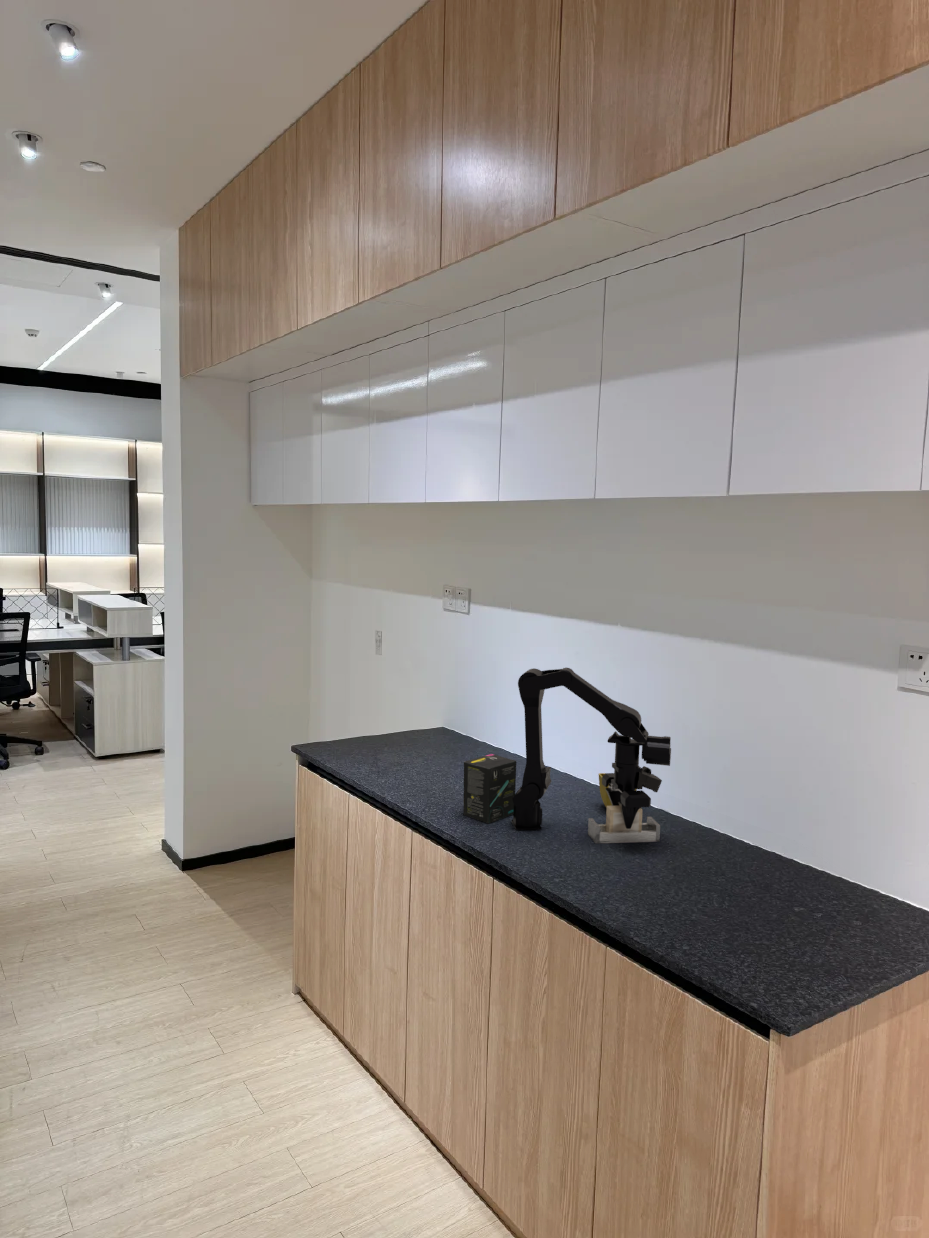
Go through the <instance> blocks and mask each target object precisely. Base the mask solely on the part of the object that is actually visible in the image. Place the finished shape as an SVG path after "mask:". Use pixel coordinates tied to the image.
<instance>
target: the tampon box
mask: <svg viewBox="0 0 929 1238" xmlns="http://www.w3.org/2000/svg"><path fill="white" fill-rule="evenodd" d="M516 779H517V760H516V759H510V758H508V757H504V756H501V755H497V754H493V753H489V754H487V755H482V756H479V757H476V758H472V759H468V760H464V761H463V813H462V814H463V816H466V817H468V818H471V819H474V820H476V821H477V820H478V821H480V822H482V823H485V824H487V825H489V824H492V823H494V822H497V821H499V820H503V819H505V818H508V817H510V816H513V809H514V803H513V799H512V798H513V797H514V795H515V794H516Z"/></svg>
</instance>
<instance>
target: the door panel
mask: <svg viewBox="0 0 929 1238" xmlns="http://www.w3.org/2000/svg"><path fill="white" fill-rule="evenodd" d="M642 823H643V807H641V808H640V809H639V810H638V811H637V813H636V816H635V819H634V821H633V824H632V827H631V829H626V827H625V823H624V820H623V816H622V813H621V809H620V806H607V808H606V814H605V824H606V832H622V831H641V830H642Z"/></svg>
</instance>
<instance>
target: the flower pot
mask: <svg viewBox="0 0 929 1238" xmlns="http://www.w3.org/2000/svg"><path fill="white" fill-rule="evenodd" d="M606 773H607V772H606ZM606 773H605V772H604V773H602V772H600V773H598V784H599V794H600V797H601V800H602V802H603V804H604V806H605V808H606V809H607V806H612V804H611V801H610V799H609V796H608V794H607V791H606V790H605V788H609V784H608V786H607V787H605V786H604V785H603V784H602V777H603V776H604V775H605V774H606ZM635 791H638V789H635Z"/></svg>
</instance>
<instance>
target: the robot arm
mask: <svg viewBox="0 0 929 1238" xmlns="http://www.w3.org/2000/svg"><path fill="white" fill-rule="evenodd" d="M517 687H518V691H519V696H520V699H521V703H522V705H523V708H524V732H525V733H524V736H525V738H524V739H525V762H526V763H525V766H524V767H525V768H524V772H523V776H522V781H521V782H522V783H521V787H519V789H518V790H516V791H517V792H515V795H514V797H513V798H512V799H513V803H514V809H513V815H512V816H513V818H512V819H511V823H512V826H513V827H514V829H515V830H516V831H531V830H533V831H534V830H536V831H537V830H542V824H543V808H542V807H541V804H542V803H541V802H540V801H539V800H541V799H542V798H543V796H544V795H545V793H547V790H548V789H549V787H550V785H551V783H552V782H553V780H552V779H551V770H552V769H551V768H552V767H551V766H547V767H546V765H545V762H544V757H543V756H544V755H543V753H544V751H543V750H544V749H543V725H542V723H543V721H542V704H543V699H544V693H545V690H549V689H553V688H557V687H558V688H559V687H564V688H566V689H567V690H569V692H572V693H573V694H574V695H576V696H577V697H578V698H580V699H581V700H583V701H584V702H585V703H587V704H588V705H589V706H590V707H592V708H593V709H595V710H596V711H598V712H599V713H600V714H602V715H603V717H604V718H605V719H606V720H607V722H608V723H609V724H610V725H611V726H612V728H614V729H615V730H616V731H614V732H613V734H611V735H610V736H609V737H608V738H607V743H609V744H615V747H614V749H615V752H614V753H615V754H614V762H611V768H612V769H614V771H613V772H606V774H605V775H604V776H603V777H602V784H603V785H604V786H605V787H607V786H608V784H609V788H605V790H606V791H607V794H608V796H609V799H610V801H611V804H612V806H620V809H621V813H622V816H623V820H624V823H625V827H626V829H631V827H632V824H633V821H634V819H635V816H636V813H637V811H638V810H639V809H640V808H650V807H651V804H652V798H651V797H650V796H649V795H648V794H647V793H646V792H645V791H644V790H643V788H645V789H648V790H651V791H652V792H654V793H658V791H659V788H660V787H661V786H662V785H661V784H662V782H663V780H662V779H661V778H660V777H658V776H657V775H655V774H654V773H652V769H651V768H649V767H647V766H644V765H643V766H642V767H641V766H640V765H639V763H640V746H641V760H643V762H645V763H646V764H649V765H656V766H668V767H670V766H671V760H672V758H671V757H672V748H671V736H667V735H665V736H655V735H649V732H648V730H647V729H646V727H645V726H644V725H643V724H642V716H641V714H640V712H639V711H638V710H636V709H634V708H633V707H631V706H628V705H626V704H624V703H621V702H619V701H617V700H614V699H612V698H611V697H609V696H608V695H606V694H605V693H604V692H602V691H601V690H600V689H598V688H597V687H595V686H594V685H592V684H591V683H590V682H589V681H587V680H585V679H584V678H583V677H581V676H580V675H579V674H577V673H576V672H575V671H574V670H573V669H572V668H570V667H563V668H558V669H557V668H555V669H546V670H540V669H539V668H530V669H528V670H527V671H525V672H523V673H522V674H521V675H520V676H519V677H518V681H517ZM635 789H637V791H635Z"/></svg>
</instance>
